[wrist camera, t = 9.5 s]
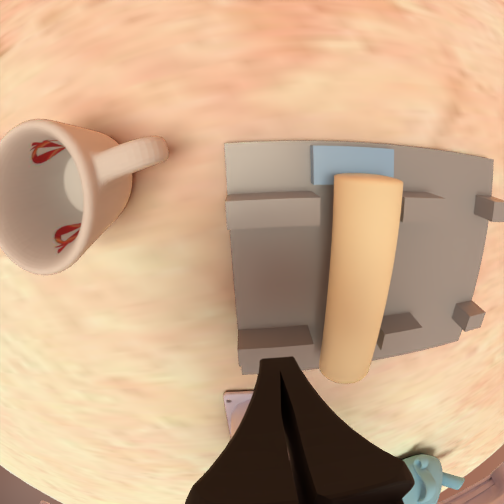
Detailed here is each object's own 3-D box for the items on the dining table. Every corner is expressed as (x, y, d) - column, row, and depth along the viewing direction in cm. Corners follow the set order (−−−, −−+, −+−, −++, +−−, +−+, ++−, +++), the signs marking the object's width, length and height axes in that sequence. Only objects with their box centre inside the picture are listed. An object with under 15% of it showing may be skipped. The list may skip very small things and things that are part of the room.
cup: (169, 91, 16) (123, 60, 9) (200, 203, 19) (173, 241, 12) (44, 149, 17) (-29, 160, 10) (73, 243, 20) (12, 289, 12)
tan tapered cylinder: (362, 346, 22) (374, 380, 19) (316, 349, 23) (322, 386, 19) (387, 174, 17) (415, 187, 13) (327, 172, 17) (344, 184, 13)
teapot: (372, 454, 32) (395, 522, 20) (470, 420, 32) (500, 470, 21) (343, 498, 39) (354, 548, 27) (428, 473, 39) (445, 515, 28)
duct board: (453, 335, 24) (469, 353, 21) (242, 367, 24) (242, 395, 21) (486, 158, 18) (512, 163, 15) (225, 143, 18) (221, 142, 15)
